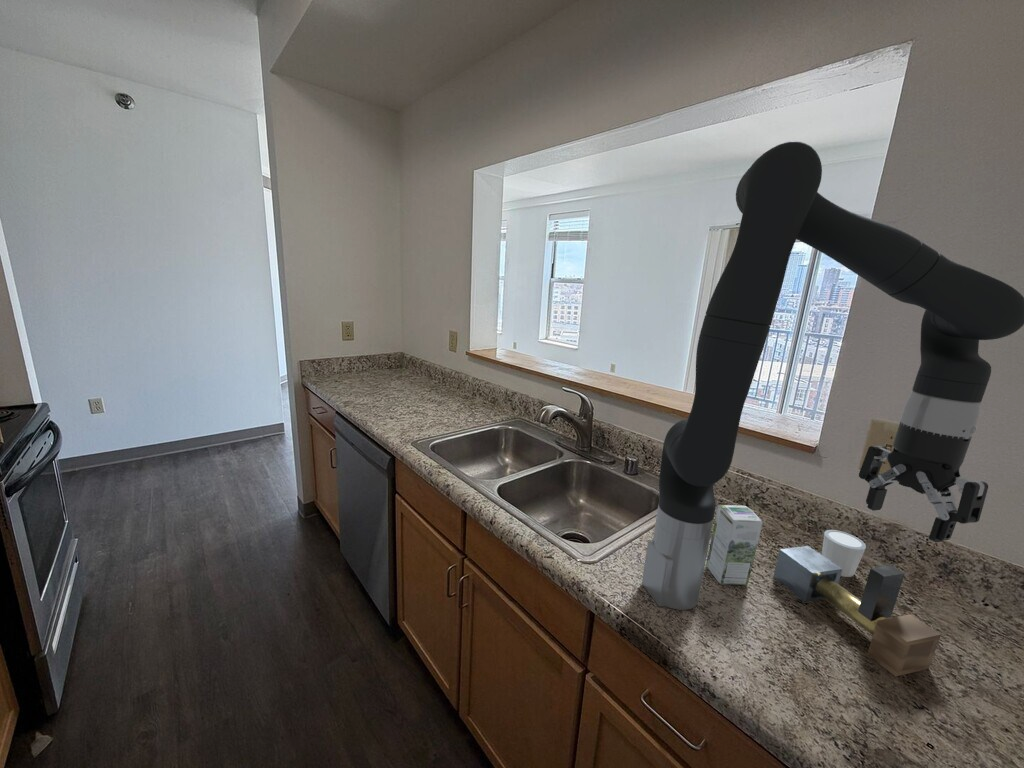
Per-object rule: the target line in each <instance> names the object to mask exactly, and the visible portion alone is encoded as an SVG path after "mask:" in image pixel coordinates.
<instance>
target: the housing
mask: <svg viewBox="0 0 1024 768" xmlns="http://www.w3.org/2000/svg"><path fill="white" fill-rule="evenodd" d="M841 572H842V568H841V567H839V566H838V565H836V564H835V563H833V562H832V561H830V560H829V559H827V558H826V557H824V556H823V555H822V553H819V552H818V551H816V550H815V549H814V548H812V547H811V546H809V545H804V546H796V547H787V548H780V549H779V552H778V557H777V560H776V565H775V570H774V573H773V579H775V580H776V581H778V583H780V584H781V585H782V586H784V587H785V588H786V589H787V590H788V591H790V592H791V593H792V594H793V595H795V596H796V597H797V598H798V599H800V600H801V601H802V602H803V603H805V604H806V603H812V602H819V601H823V600H826V599H824V598H823V597H822V596H821V595H819V594H818V593H817V592H816V585H817V583H818V582H819V581H820V580H821V579H822V578H825V577H829V578H830V579H832V580H833V581H834V582H836V583H837V584H839V583H840V579H841V577H842V576H841Z"/></svg>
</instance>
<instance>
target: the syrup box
mask: <svg viewBox="0 0 1024 768" xmlns="http://www.w3.org/2000/svg"><path fill="white" fill-rule="evenodd" d="M763 523H764V522H763V521H762V519H761V518H760V517H759V516H758V515H757V514H756V513H755V511H753V510H752V509H750V508H749V507H748V506H746V505H735V504H733V505H732V504H731V505H730V504H728V505H727V504H718V505H717V508H716V514H715V520H714V525H713V529H712V533H711V534H712V535H711V538H710V543H709V547H708V552H707V557H706V562H705V566H706V567H707V569H708V570H709V571H710V573H711V574H712V576H713V577H714V578H715V579H716V581H717V582H718V584H719V585H724V586H725V585H728V586H729V585H732V586H733V585H734V586H735V585H736V586H748V585H749V583H750V577H751V573H752V569H753V564H754V561H755V560H754V559H755V556H756V552H757V548H758V545H759V539H760V536H761V531H762V527H763Z"/></svg>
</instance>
